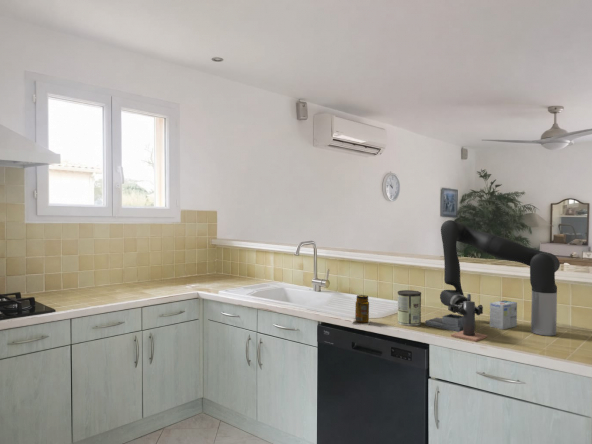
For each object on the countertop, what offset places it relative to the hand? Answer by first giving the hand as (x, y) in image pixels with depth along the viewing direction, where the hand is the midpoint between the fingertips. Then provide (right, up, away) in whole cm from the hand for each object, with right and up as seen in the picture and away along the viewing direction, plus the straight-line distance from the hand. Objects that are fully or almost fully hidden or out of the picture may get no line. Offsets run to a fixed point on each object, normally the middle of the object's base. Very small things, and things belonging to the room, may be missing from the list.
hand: (471, 312), depth 180 cm
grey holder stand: (-3, -10, +19) cm, 22 cm away
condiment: (-40, -10, +26) cm, 48 cm away
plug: (0, -9, +3) cm, 10 cm away
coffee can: (-18, -10, +25) cm, 33 cm away
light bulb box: (+22, -10, +20) cm, 32 cm away
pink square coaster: (0, -10, +3) cm, 11 cm away
